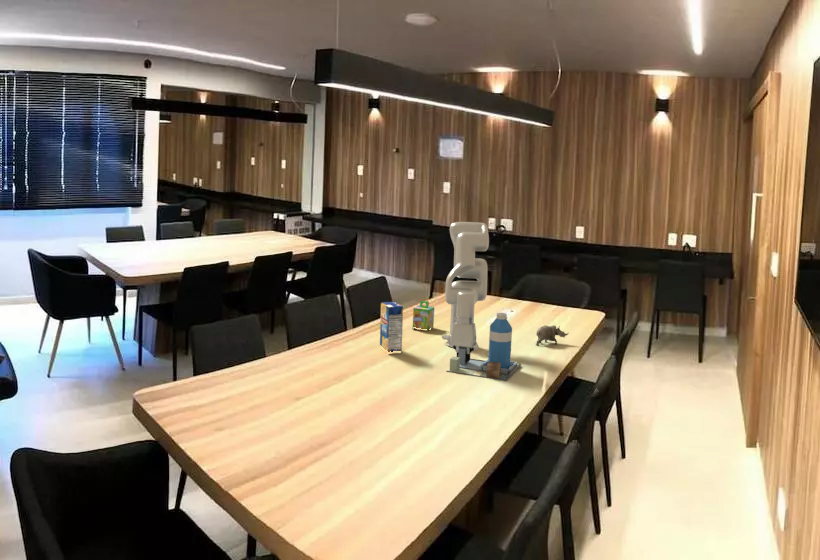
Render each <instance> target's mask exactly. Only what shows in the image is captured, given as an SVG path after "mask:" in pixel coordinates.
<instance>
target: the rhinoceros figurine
mask: <svg viewBox="0 0 820 560" xmlns="http://www.w3.org/2000/svg"><path fill="white" fill-rule="evenodd" d="M560 327H561V326H560V325H559V326H558V327H557V326H556V325H543V326H539V327H538V328H537V330H536V333H535V334H536V336H537V337H538V338H537V340H536V342H535V346H537V347H539V346H540V343H541V344H542V342H543V341H544V343H548V341H549V342H554V344H555V345H557V344H558V341H557V339H556V336H558V337H560V338H565V337H566V336H568V335H569V332H567V333H565V331H562V330H561V329H560Z"/></svg>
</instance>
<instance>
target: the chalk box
mask: <svg viewBox="0 0 820 560" xmlns="http://www.w3.org/2000/svg"><path fill="white" fill-rule="evenodd" d="M419 302H420V303H419V305H417V306H415V307H413V311H412V313H413V314H412V315H413V316H412V328H413V327H416V328H421V329H427V330H429V329H430V328H432V327H433V328H434V322H435V307H434V306H430V302H429V300H428V301H427V300H420V301H419ZM423 304H425V305H423ZM433 328H432V329H433Z"/></svg>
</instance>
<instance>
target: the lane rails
mask: <svg viewBox="0 0 820 560" xmlns="http://www.w3.org/2000/svg"><path fill="white" fill-rule="evenodd" d="M470 360H475V361H482V362H485V361H486V360H483V359H477V358H470ZM521 367H522V363H517V366H516V367H515V368H514V369H513V370H512V371H511V372H510V373H509V374H503V373H500V376H499V378H493V377H486V376H487V371H484V370H477V369H470V368H464V367H460V368H461V369H468V370H475V371H476V372H481V374H479V375H478V374H473V375H472V374H465V373H459V372H453V371H449V370H446V371H445V372H447V373H452V374H458V375H464V376H470V377H471V376H473V377H479V378H484V379H491V380H497V381H498V380H499V381H504V382H507V381H508V380H510V378H511V377H512V376H514V374H515V373H516V372H517V371H518V370H519V369H520V368H521Z"/></svg>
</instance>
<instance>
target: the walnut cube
mask: <svg viewBox="0 0 820 560" xmlns="http://www.w3.org/2000/svg"><path fill="white" fill-rule="evenodd" d="M500 366H501V363H498V362H488V364H487V376H486V377H493V378H499V376H500Z"/></svg>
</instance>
